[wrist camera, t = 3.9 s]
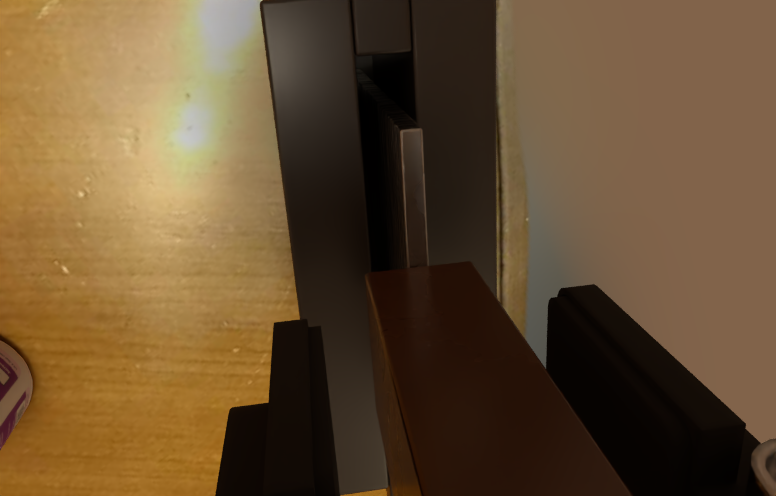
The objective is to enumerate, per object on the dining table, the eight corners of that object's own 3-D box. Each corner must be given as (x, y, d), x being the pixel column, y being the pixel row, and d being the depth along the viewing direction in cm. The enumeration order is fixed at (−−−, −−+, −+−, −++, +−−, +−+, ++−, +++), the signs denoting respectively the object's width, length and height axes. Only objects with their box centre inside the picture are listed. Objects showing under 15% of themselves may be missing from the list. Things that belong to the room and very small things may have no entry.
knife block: (273, -30, 25) (250, -68, 12) (393, -38, 26) (496, -82, 13) (313, 308, 30) (327, 533, 17) (412, 296, 31) (498, 507, 18)
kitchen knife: (324, 71, 21) (443, 335, 4) (384, 66, 21) (729, 299, 4) (345, 292, 24) (466, 972, 7) (398, 286, 24) (637, 931, 7)
